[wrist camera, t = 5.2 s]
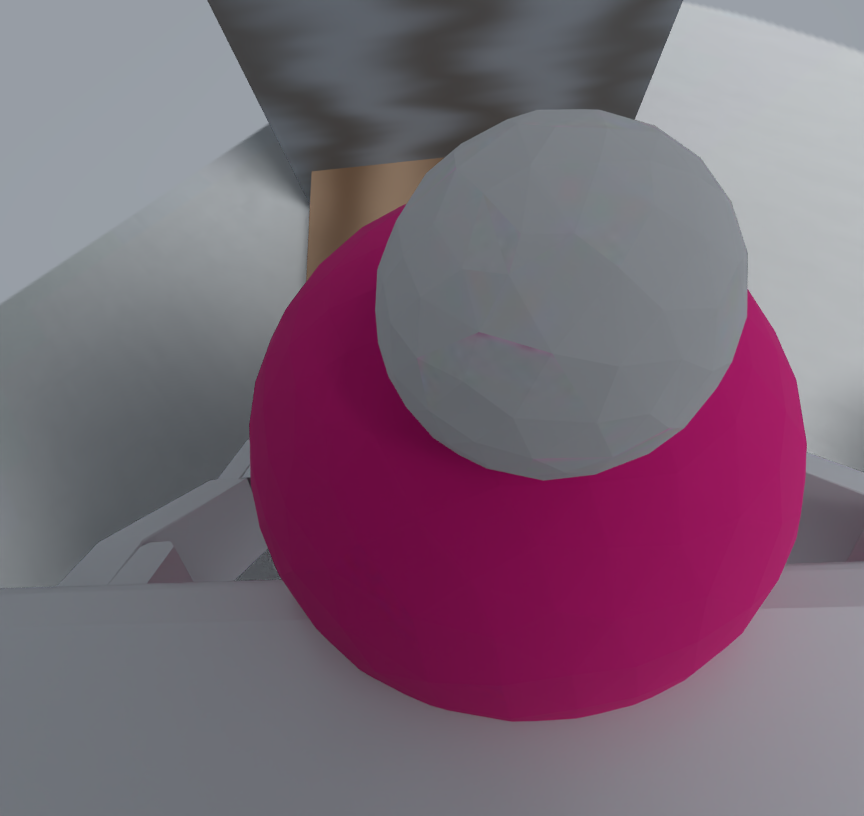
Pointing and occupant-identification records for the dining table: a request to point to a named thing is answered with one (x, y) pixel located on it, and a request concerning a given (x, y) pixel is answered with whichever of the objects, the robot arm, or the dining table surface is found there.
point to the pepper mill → (533, 427)
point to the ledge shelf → (425, 84)
